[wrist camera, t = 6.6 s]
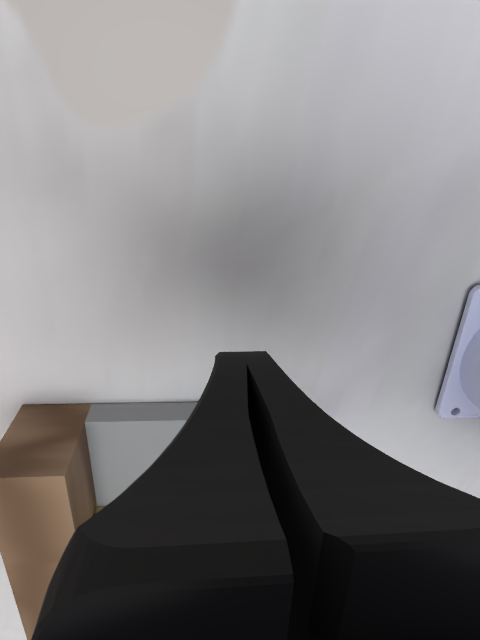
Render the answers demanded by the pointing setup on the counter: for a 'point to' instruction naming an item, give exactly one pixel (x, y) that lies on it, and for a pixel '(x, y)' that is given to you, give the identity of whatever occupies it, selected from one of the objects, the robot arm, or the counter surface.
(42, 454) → the jamb
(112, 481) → the door slab
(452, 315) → the counter surface
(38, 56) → the counter surface
